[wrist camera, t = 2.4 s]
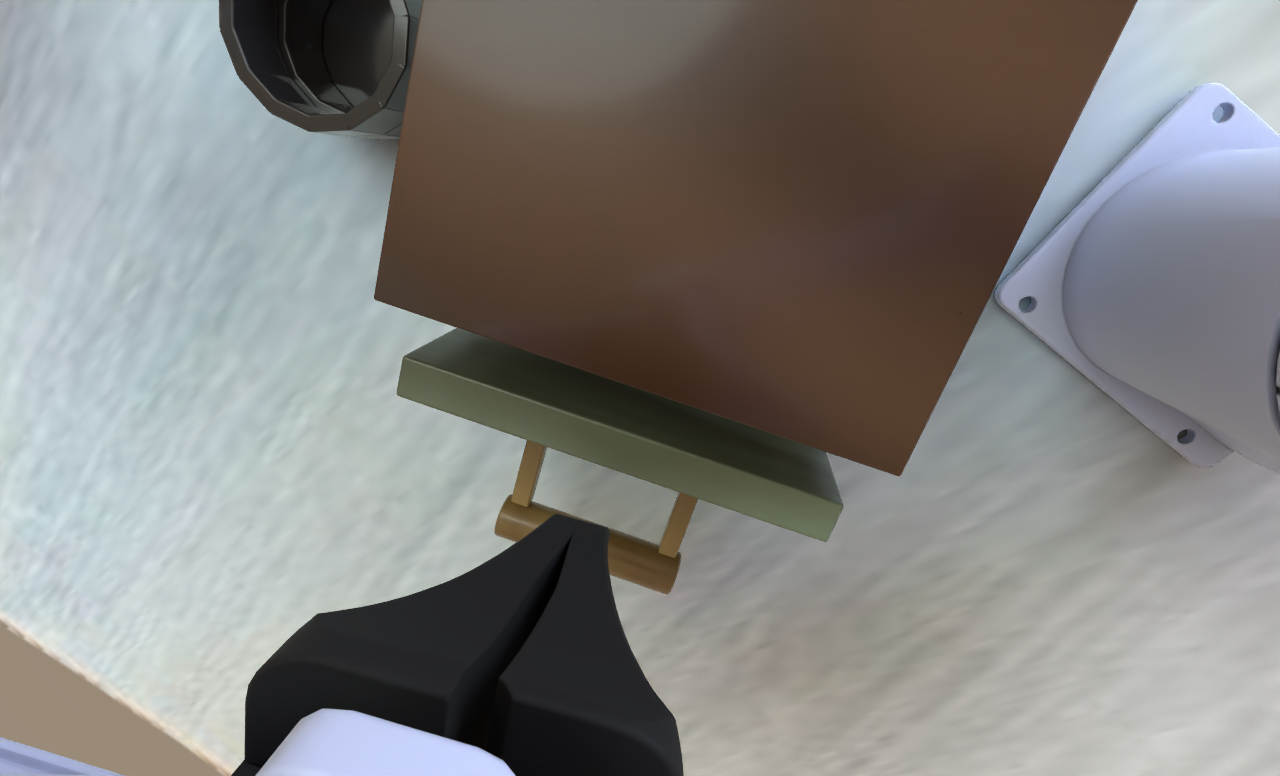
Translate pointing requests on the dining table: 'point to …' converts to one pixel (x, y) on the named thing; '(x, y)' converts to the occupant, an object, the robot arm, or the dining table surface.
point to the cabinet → (736, 191)
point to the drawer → (621, 446)
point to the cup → (326, 60)
